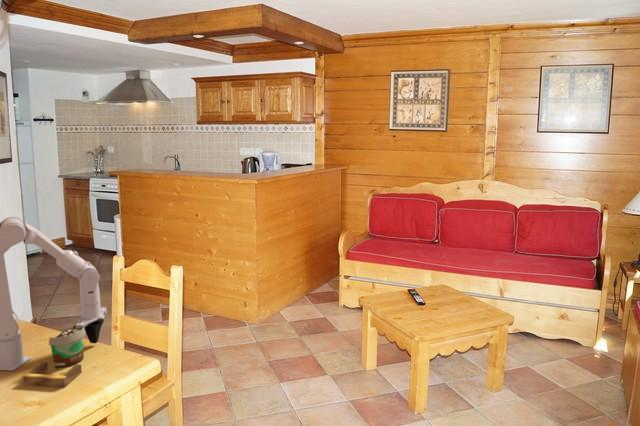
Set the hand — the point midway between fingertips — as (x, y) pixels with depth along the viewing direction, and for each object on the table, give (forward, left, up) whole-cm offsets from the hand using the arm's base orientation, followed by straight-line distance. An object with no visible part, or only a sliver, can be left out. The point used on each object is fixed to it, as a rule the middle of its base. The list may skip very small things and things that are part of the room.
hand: (93, 342), depth 163 cm
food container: (0, -11, -1) cm, 11 cm away
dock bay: (0, -21, -1) cm, 21 cm away
